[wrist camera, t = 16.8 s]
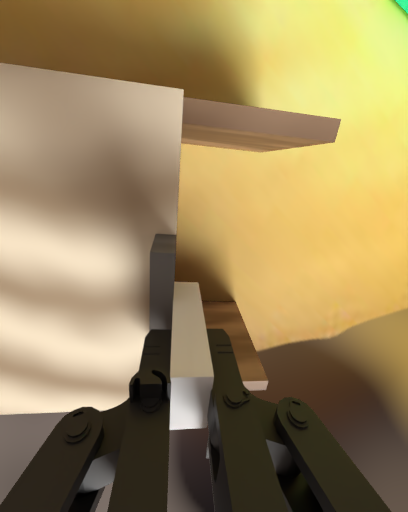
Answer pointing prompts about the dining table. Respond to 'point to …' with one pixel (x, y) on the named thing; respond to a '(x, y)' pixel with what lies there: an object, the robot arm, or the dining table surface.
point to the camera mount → (403, 4)
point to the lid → (83, 234)
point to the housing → (258, 140)
